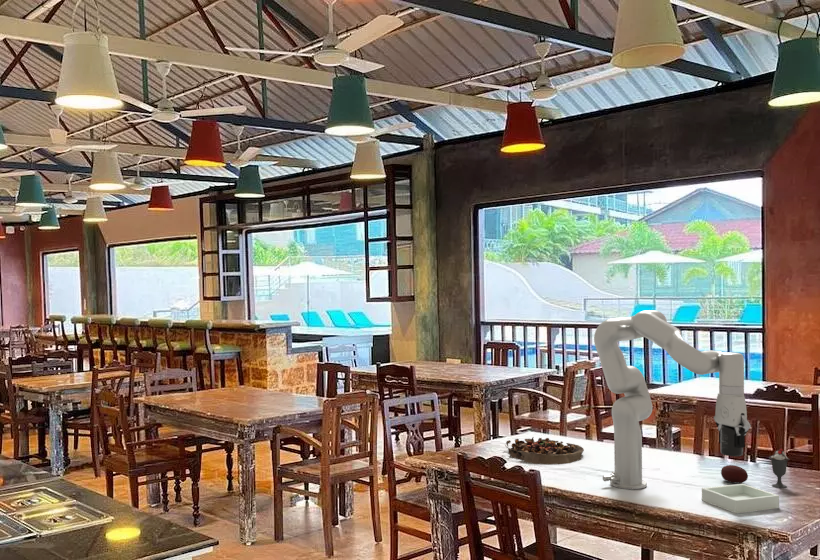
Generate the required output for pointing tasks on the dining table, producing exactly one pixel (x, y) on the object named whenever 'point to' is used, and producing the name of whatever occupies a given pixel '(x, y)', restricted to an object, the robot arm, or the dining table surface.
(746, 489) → the tray
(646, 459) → the dining table surface
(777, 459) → the sundae
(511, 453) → the food dish
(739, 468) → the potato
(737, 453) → the supplement bottle
